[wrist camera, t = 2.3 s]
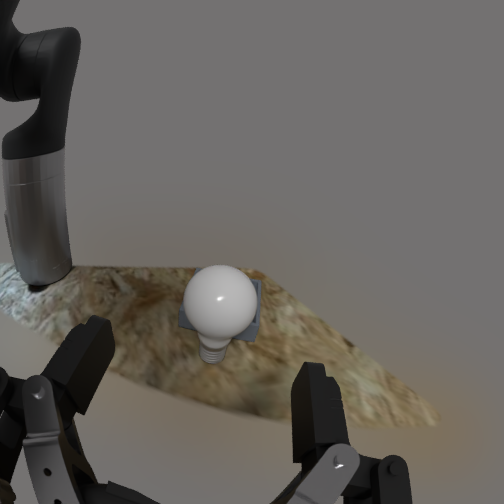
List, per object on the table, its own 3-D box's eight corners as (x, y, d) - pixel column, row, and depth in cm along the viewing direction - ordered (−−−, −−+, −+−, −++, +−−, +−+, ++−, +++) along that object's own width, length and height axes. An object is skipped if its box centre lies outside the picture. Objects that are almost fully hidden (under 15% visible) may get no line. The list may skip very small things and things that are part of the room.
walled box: (178, 326, 30) (179, 309, 28) (195, 283, 37) (196, 267, 36) (254, 342, 30) (259, 326, 29) (257, 295, 38) (261, 280, 36)
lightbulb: (247, 346, 29) (271, 264, 24) (231, 390, 24) (255, 307, 18) (194, 328, 30) (203, 243, 25) (171, 367, 24) (171, 279, 19)
